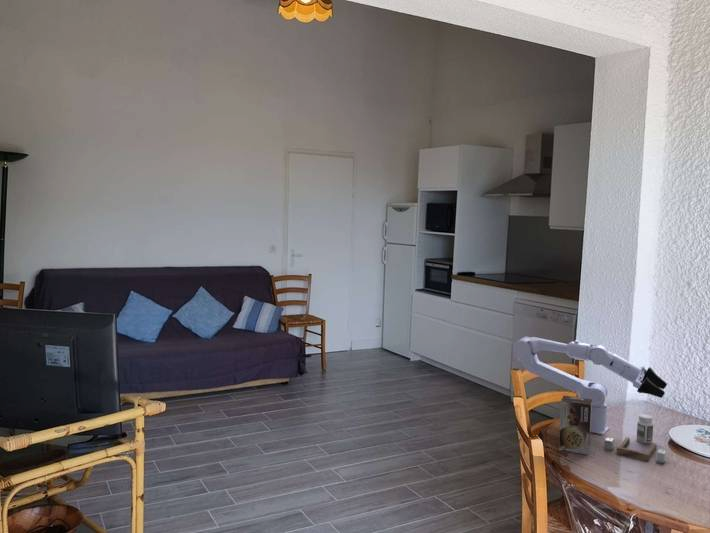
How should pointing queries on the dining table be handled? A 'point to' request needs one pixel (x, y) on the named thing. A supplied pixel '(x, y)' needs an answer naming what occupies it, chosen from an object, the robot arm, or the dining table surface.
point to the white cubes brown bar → (635, 454)
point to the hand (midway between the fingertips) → (664, 390)
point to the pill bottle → (645, 429)
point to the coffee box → (575, 424)
